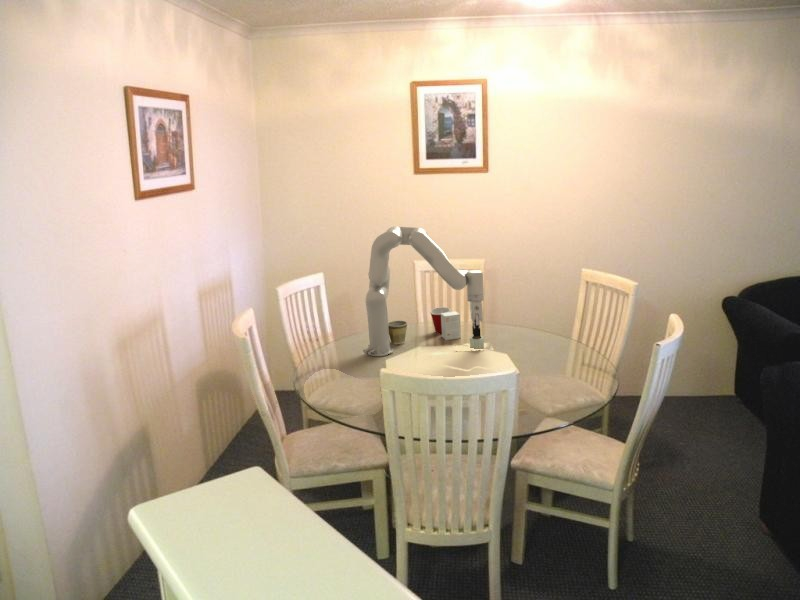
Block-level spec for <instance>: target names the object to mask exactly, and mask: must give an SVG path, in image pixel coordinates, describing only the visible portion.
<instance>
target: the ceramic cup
mask: <svg viewBox="0 0 800 600" xmlns="http://www.w3.org/2000/svg"><path fill="white" fill-rule="evenodd" d="M388 326H389V340H390V342H391V343H390V344H392V343H393V344H392V345H394V344H400V343H403V342H404V343H405V342H406V334H407V327H408V322H407V321H406V320H392V321H388ZM400 345H401V344H400Z"/></svg>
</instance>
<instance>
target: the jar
mask: <svg viewBox="0 0 800 600" xmlns="http://www.w3.org/2000/svg"><path fill="white" fill-rule="evenodd" d="M469 343H470V348H474V349H483V348H484V343H485V336H483V335H480V339H474V337H473V335H471V336H469Z"/></svg>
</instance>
